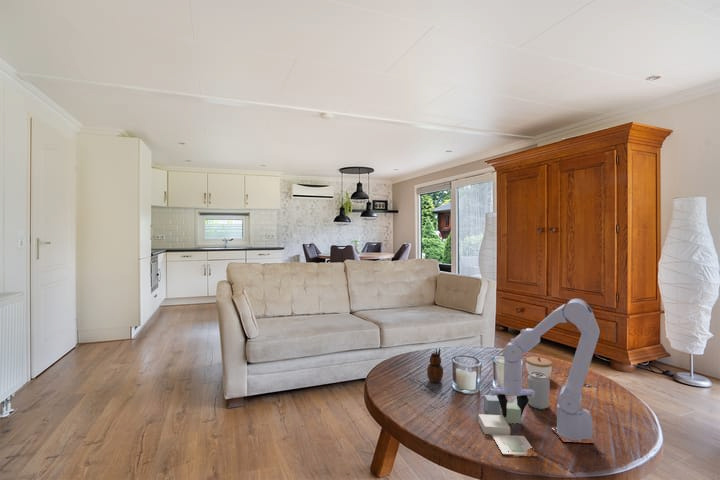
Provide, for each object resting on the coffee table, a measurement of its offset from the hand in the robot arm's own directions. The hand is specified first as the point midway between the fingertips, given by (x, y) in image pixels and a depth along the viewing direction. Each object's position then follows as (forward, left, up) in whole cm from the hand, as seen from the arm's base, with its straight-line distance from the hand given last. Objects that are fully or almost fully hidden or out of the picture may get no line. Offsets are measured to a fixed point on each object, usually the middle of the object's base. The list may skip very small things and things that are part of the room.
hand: (511, 416), depth 125 cm
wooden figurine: (+22, -31, -2) cm, 38 cm away
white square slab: (+8, +6, -2) cm, 10 cm away
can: (-14, -12, -2) cm, 19 cm away
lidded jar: (-26, -40, -2) cm, 48 cm away
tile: (+5, +16, -1) cm, 17 cm away
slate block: (+5, -6, -2) cm, 8 cm away
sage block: (0, 0, -1) cm, 1 cm away
